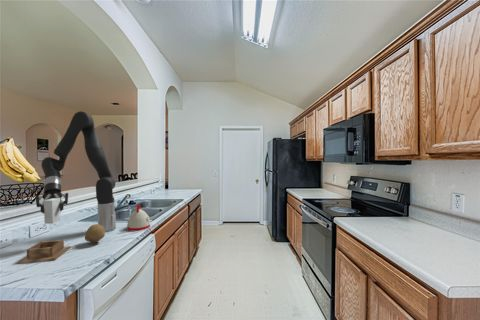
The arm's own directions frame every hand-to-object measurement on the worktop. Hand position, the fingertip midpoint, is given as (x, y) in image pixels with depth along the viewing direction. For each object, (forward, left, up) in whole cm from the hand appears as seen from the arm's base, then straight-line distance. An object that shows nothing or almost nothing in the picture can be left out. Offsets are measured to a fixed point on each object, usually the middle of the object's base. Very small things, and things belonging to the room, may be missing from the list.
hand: (52, 211), depth 121 cm
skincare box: (+1, -1, -6) cm, 6 cm away
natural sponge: (-20, 0, -18) cm, 27 cm away
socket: (-3, +12, -18) cm, 22 cm away
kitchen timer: (-37, -24, -18) cm, 48 cm away
